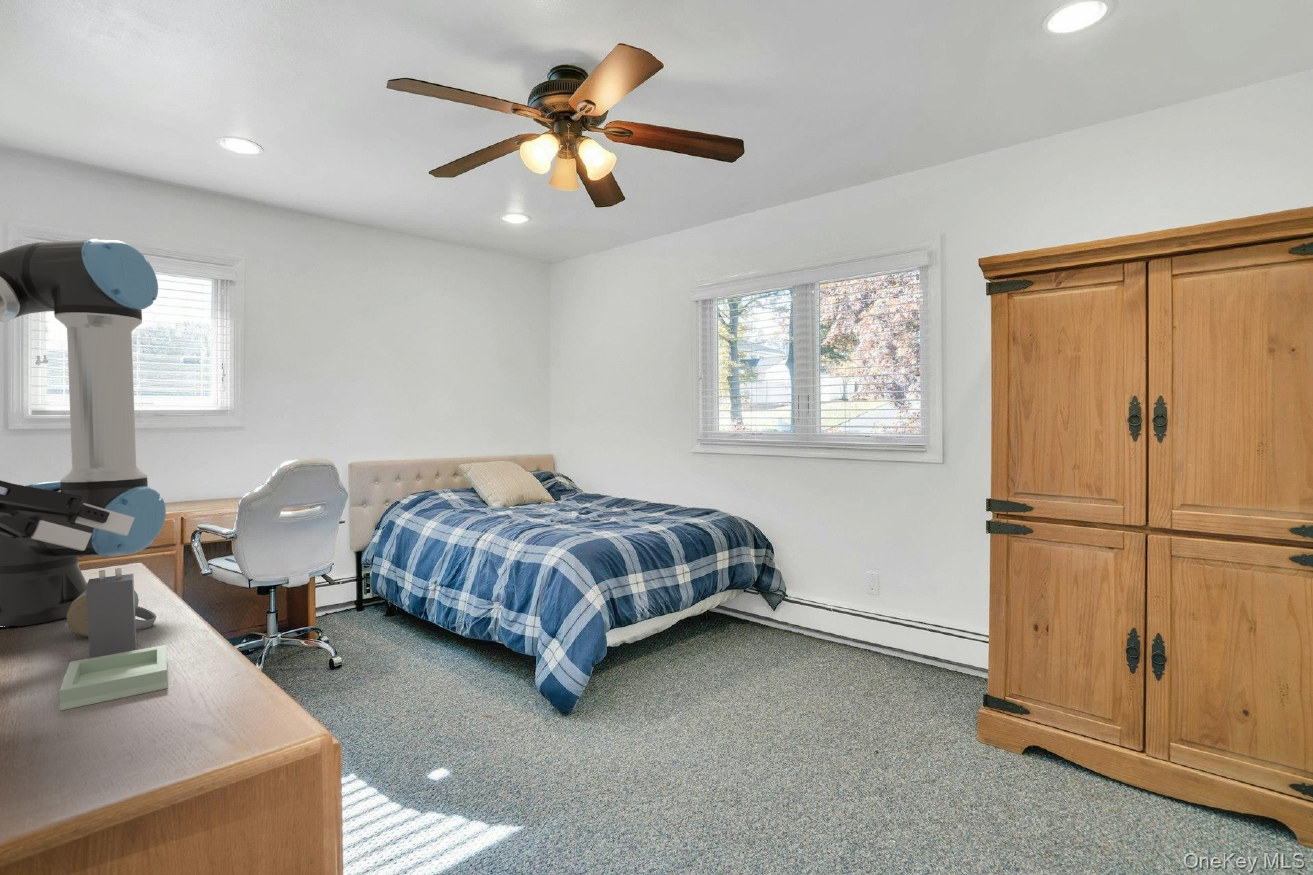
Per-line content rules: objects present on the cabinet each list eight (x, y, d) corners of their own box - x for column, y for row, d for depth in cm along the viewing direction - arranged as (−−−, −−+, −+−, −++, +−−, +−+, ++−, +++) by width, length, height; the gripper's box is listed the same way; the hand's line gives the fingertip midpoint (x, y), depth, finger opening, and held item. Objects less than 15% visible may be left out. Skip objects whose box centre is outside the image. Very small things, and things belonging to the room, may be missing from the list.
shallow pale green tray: (71, 679, 86) (70, 661, 86) (166, 661, 92) (166, 644, 92) (60, 710, 77) (59, 690, 77) (167, 688, 83) (166, 669, 83)
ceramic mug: (63, 643, 101) (62, 593, 101) (82, 628, 109) (81, 581, 109) (149, 633, 106) (148, 585, 106) (161, 619, 113) (160, 574, 113)
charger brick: (92, 655, 96) (88, 569, 95) (136, 647, 99) (133, 564, 98) (89, 664, 92) (85, 575, 91) (135, 656, 95) (131, 569, 94)
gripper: (-131, 529, 88) (60, 571, 104) (-64, 491, 77) (139, 545, 93) (-99, 477, 92) (80, 525, 108) (-31, 434, 80) (159, 495, 96)
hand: (108, 534), depth 100 cm, fingers open, 13 cm apart
